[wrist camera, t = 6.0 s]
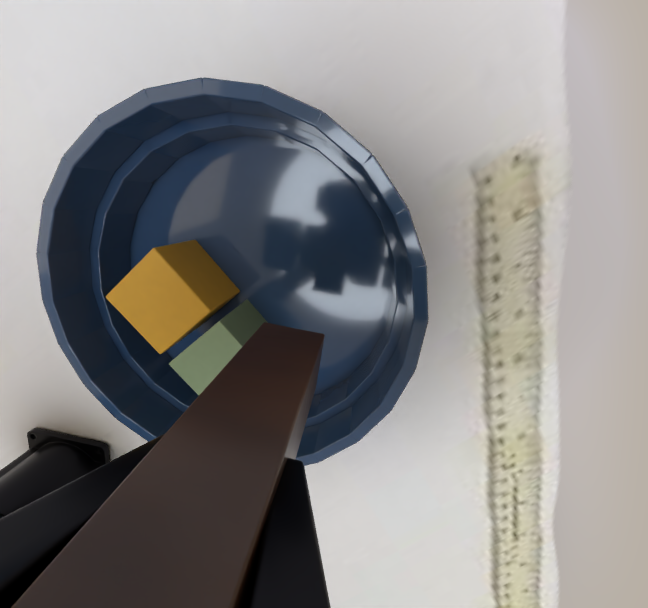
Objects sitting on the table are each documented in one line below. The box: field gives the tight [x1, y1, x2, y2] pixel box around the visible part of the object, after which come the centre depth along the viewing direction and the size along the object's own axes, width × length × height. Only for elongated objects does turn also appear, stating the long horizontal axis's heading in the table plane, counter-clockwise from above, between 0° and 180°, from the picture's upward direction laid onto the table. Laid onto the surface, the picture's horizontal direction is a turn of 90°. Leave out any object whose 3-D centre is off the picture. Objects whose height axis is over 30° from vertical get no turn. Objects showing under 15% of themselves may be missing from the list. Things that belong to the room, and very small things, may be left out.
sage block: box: [169, 299, 268, 395], centre depth 19 cm, size 4×4×4 cm
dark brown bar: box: [11, 322, 325, 608], centre depth 7 cm, size 2×2×12 cm
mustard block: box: [106, 240, 240, 354], centre depth 18 cm, size 4×4×4 cm
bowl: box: [36, 78, 428, 466], centre depth 17 cm, size 18×18×6 cm
